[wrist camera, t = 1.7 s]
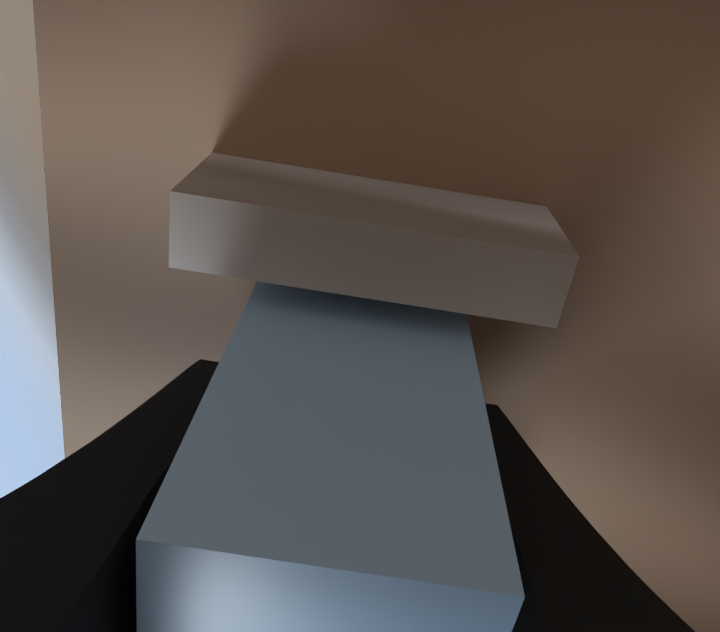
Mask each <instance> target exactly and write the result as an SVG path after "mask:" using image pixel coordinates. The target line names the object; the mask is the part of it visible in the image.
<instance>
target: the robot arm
mask: <svg viewBox="0 0 720 632" xmlns="http://www.w3.org/2000/svg"><path fill="white" fill-rule="evenodd" d="M218 364H219V362H215V361H209V360H202V359H200V360H198V361H197V362H195V363H194V364H192V365H191V366H190V367H188V368H187V369H186V370H185V371H183V372H182V373H181V374H179V375H178V376H177V377H176V378H174V379H173V380H172V381H171V382H169V383H168V384H167V385H166V386H164V387H163V388H162V389H161V390H159V391H158V392H157V393H156V394H154V395H153V396H152V397H150V398H149V399H148V400H147V401H145V402H144V403H143V404H141V405H140V406H139V407H137V408H136V409H135V410H133V411H132V412H131V413H129V414H128V415H127V416H125V417H124V418H123V419H121V420H120V421H118V422H117V423H116V424H114V425H113V426H112V427H110V428H109V429H108V430H106V431H105V432H104V433H102V434H101V435H99V436H98V437H97V438H95V439H94V440H92V441H91V442H89V443H88V444H86V445H85V446H83V447H82V448H80V449H79V450H77V451H76V452H74V453H73V454H71V455H70V456H68V457H67V458H65V459H64V460H62V461H61V462H59V463H58V464H56V465H55V466H53V467H52V468H50V469H48V470H47V471H45V472H44V473H42V474H41V475H39V476H38V477H36V478H34V479H33V480H31V481H29V482H28V483H26V484H24V485H23V486H21V487H19V488H18V489H16V490H14V491H13V492H11V493H9V494H7V495H6V496H4V497H2V498H0V632H137V614H136V538H137V536H138V534H139V532H140V530H141V527H142V525H143V523H144V521H145V519H146V517H147V515H148V513H149V510H150V508H151V506H152V504H153V502H154V500H155V498H156V495H157V493H158V491H159V489H160V487H161V485H162V483H163V481H164V478H165V476H166V474H167V472H168V470H169V468H170V466H171V464H172V461H173V459H174V457H175V455H176V453H177V451H178V449H179V447H180V444H181V442H182V440H183V438H184V436H185V434H186V432H187V430H188V427H189V425H190V423H191V421H192V419H193V417H194V415H195V413H196V410H197V408H198V406H199V404H200V402H201V400H202V398H203V396H204V393H205V391H206V389H207V387H208V385H209V383H210V381H211V378H212V376H213V374H214V372H215V370H216V368H217V366H218ZM485 405H486V410H487V415H488V420H489V425H490V430H491V435H492V439H493V444H494V449H495V454H496V459H497V464H498V469H499V473H500V478H501V483H502V488H503V493H504V498H505V503H506V507H507V512H508V517H509V522H510V527H511V532H512V537H513V541H514V546H515V551H516V556H517V561H518V566H519V571H520V575H521V580H522V585H523V590H524V595H525V598H524V601H523V603H522V606H521V609H520V611H519V614H518V617H517V619H516V622H515V625H514V627H513V630H512V632H695V631H694V630H693V629H692V628H691V627H690V626H689V625H688V624H687V623H686V622H684V621H683V620H682V619H681V618H680V617H679V616H678V615H677V614H676V613H675V612H674V611H673V610H672V609H671V608H670V607H669V606H668V605H667V604H666V603H665V602H664V601H663V600H662V599H661V598H660V597H658V596H657V595H656V594H655V593H654V592H653V591H652V590H651V589H650V588H649V587H648V586H647V585H646V584H645V583H644V582H643V580H642V579H641V578H640V577H639V576H638V575H637V574H636V573H635V572H634V571H633V570H632V569H631V568H630V567H629V566H628V565H627V564H626V563H625V562H624V560H623V559H622V558H621V557H620V556H619V555H618V554H617V553H616V552H615V550H614V549H613V548H612V547H611V546H610V545H609V544H608V543H607V542H606V541H605V539H604V538H603V537H602V536H601V535H600V534H599V533H598V532H597V531H596V529H595V528H594V527H593V526H592V525H591V524H590V522H589V521H588V520H587V519H586V518H585V517H584V515H583V514H582V513H581V512H580V511H579V510H578V508H577V507H576V506H575V505H574V503H573V502H572V501H571V500H570V499H569V497H568V496H567V495H566V494H565V492H564V491H563V490H562V489H561V487H560V486H559V485H558V484H557V482H556V481H555V480H554V479H553V477H552V476H551V475H550V474H549V472H548V471H547V470H546V468H545V467H544V466H543V465H542V463H541V462H540V461H539V459H538V458H537V457H536V455H535V454H534V453H533V451H532V450H531V449H530V447H529V446H528V445H527V443H526V442H525V441H524V439H523V438H522V437H521V435H520V434H519V433H518V431H517V430H516V429H515V427H514V426H513V425H512V423H511V422H510V421H509V419H508V418H507V417H506V415H505V414H504V413H503V411H502V410H501V409H500V407H499V406H498V405H494V404H488V403H485Z"/></svg>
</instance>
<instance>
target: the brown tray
mask: <svg viewBox="0 0 720 632" xmlns="http://www.w3.org/2000/svg"><path fill="white" fill-rule="evenodd" d="M33 7H34V21H35V36H36V50H37V64H38V79H39V93H40V107H41V122H42V136H43V150H44V165H45V179H46V193H47V208H48V222H49V236H50V251H51V265H52V279H53V294H54V308H55V322H56V337H57V351H58V365H59V380H60V394H61V408H62V423H63V437H64V451H65V458H67V457H68V456H70V455H71V454H73V453H74V452H76V451H77V450H79V449H80V448H82V447H83V446H85V445H86V444H88V443H89V442H91V441H92V440H94V439H95V438H97V437H98V436H99V435H101V434H102V433H104V432H105V431H106V430H108V429H109V428H110V427H112V426H113V425H114V424H116V423H117V422H118V421H120V420H121V419H123V418H124V417H125V416H127V415H128V414H129V413H131V412H132V411H133V410H135V409H136V408H137V407H139V406H140V405H141V404H143V403H144V402H145V401H147V400H148V399H149V398H150V397H152V396H153V395H154V394H156V393H157V392H158V391H159V390H161V389H162V388H163V387H164V386H166V385H167V384H168V383H169V382H171V381H172V380H173V379H174V378H176V377H177V376H178V375H179V374H181V373H182V372H183V371H185V370H186V369H187V368H188V367H190V366H191V365H192V364H194V363H195V362H197V361H198V360H200V359H202V360H209V361H215V362H219V361H220V359H221V357H222V355H223V353H224V351H225V349H226V347H227V344H228V342H229V340H230V338H231V336H232V334H233V332H234V330H235V327H236V325H237V323H238V321H239V319H240V317H241V315H242V313H243V310H244V308H245V306H246V304H247V302H248V300H249V298H250V296H251V293H252V291H253V289H254V287H255V285H256V283H257V281H259V282H265V283H271V284H278V285H284V286H291V287H297V288H303V289H310V290H316V291H322V292H329V293H335V294H342V295H348V296H354V297H361V298H367V299H373V300H380V301H386V302H393V303H399V304H405V305H412V306H418V307H424V308H431V309H437V310H443V311H450V312H456V313H463V314H467V318H468V323H469V328H470V333H471V337H472V342H473V347H474V352H475V357H476V362H477V367H478V371H479V376H480V381H481V386H482V391H483V396H484V401H485V403H488V404H494V405H498V406H499V407H500V409H501V410H502V411H503V413H504V414H505V415H506V417H507V418H508V419H509V421H510V422H511V423H512V425H513V426H514V427H515V429H516V430H517V431H518V433H519V434H520V435H521V437H522V438H523V439H524V441H525V442H526V443H527V445H528V446H529V447H530V449H531V450H532V451H533V453H534V454H535V455H536V457H537V458H538V459H539V461H540V462H541V463H542V465H543V466H544V467H545V468H546V470H547V471H548V472H549V474H550V475H551V476H552V477H553V479H554V480H555V481H556V482H557V484H558V485H559V486H560V487H561V489H562V490H563V491H564V492H565V494H566V495H567V496H568V497H569V499H570V500H571V501H572V502H573V503H574V505H575V506H576V507H577V508H578V510H579V511H580V512H581V513H582V514H583V515H584V517H585V518H586V519H587V520H588V521H589V522H590V524H591V525H592V526H593V527H594V528H595V529H596V531H597V532H598V533H599V534H600V535H601V536H602V537H603V538H604V539H605V541H606V542H607V543H608V544H609V545H610V546H611V547H612V548H613V549H614V550H615V552H616V553H617V554H618V555H619V556H620V557H621V558H622V559H623V560H624V562H625V563H626V564H627V565H628V566H629V567H630V568H631V569H632V570H633V571H634V572H635V573H636V574H637V575H638V576H639V577H640V578H641V579H642V580H643V582H644V583H645V584H646V585H647V586H648V587H649V588H650V589H651V590H652V591H653V592H654V593H655V594H656V595H657V596H658V597H660V598H661V599H662V600H663V601H664V602H665V603H666V604H667V605H668V606H669V607H670V608H671V609H672V610H673V611H674V612H675V613H676V614H677V615H678V616H679V617H680V618H681V619H682V620H683V621H684V622H686V623H687V624H688V625H689V626H690V627H691V628H692V629H693V630H694V631H695V632H720V0H33Z"/></svg>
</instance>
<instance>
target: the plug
mask: <svg viewBox="0 0 720 632" xmlns="http://www.w3.org/2000/svg"><path fill="white" fill-rule="evenodd" d="M524 598H525V595H524V590H523V585H522V580H521V575H520V571H519V566H518V561H517V556H516V551H515V546H514V541H513V537H512V532H511V527H510V522H509V517H508V512H507V507H506V503H505V498H504V493H503V488H502V483H501V478H500V473H499V469H498V464H497V459H496V454H495V449H494V444H493V439H492V435H491V430H490V425H489V420H488V415H487V410H486V405H485V401H484V396H483V391H482V386H481V381H480V376H479V371H478V367H477V362H476V357H475V352H474V347H473V342H472V337H471V333H470V328H469V323H468V318H467V314H463V313H456V312H450V311H443V310H437V309H431V308H424V307H418V306H412V305H405V304H399V303H393V302H386V301H380V300H373V299H367V298H361V297H354V296H348V295H342V294H335V293H329V292H322V291H316V290H310V289H303V288H297V287H291V286H284V285H278V284H271V283H265V282H259V281H257V283H256V285H255V287H254V289H253V291H252V293H251V296H250V298H249V300H248V302H247V304H246V306H245V308H244V310H243V313H242V315H241V317H240V319H239V321H238V323H237V325H236V327H235V330H234V332H233V334H232V336H231V338H230V340H229V342H228V344H227V347H226V349H225V351H224V353H223V355H222V357H221V359H220V361H219V364H218V366H217V368H216V370H215V372H214V374H213V376H212V378H211V381H210V383H209V385H208V387H207V389H206V391H205V393H204V396H203V398H202V400H201V402H200V404H199V406H198V408H197V410H196V413H195V415H194V417H193V419H192V421H191V423H190V425H189V427H188V430H187V432H186V434H185V436H184V438H183V440H182V442H181V444H180V447H179V449H178V451H177V453H176V455H175V457H174V459H173V461H172V464H171V466H170V468H169V470H168V472H167V474H166V476H165V478H164V481H163V483H162V485H161V487H160V489H159V491H158V493H157V495H156V498H155V500H154V502H153V504H152V506H151V508H150V510H149V513H148V515H147V517H146V519H145V521H144V523H143V525H142V527H141V530H140V532H139V534H138V536H137V538H136V614H137V632H512V630H513V627H514V625H515V622H516V619H517V617H518V614H519V611H520V609H521V606H522V603H523V601H524Z"/></svg>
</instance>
